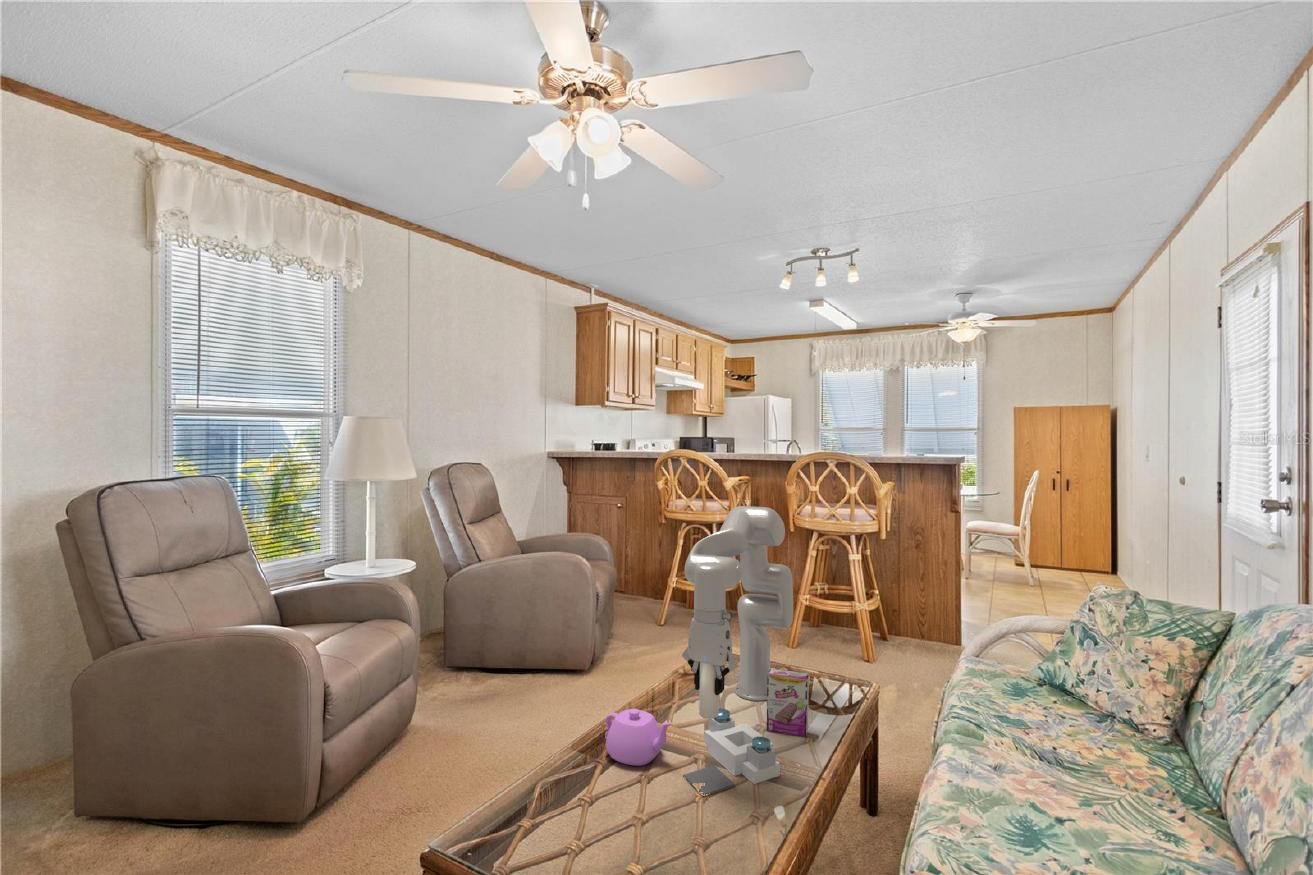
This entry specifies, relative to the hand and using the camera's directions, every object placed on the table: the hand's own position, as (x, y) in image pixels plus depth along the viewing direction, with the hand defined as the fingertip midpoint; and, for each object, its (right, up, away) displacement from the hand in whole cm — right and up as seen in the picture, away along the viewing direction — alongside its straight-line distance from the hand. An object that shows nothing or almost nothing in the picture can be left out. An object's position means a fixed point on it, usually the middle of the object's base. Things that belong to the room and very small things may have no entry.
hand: (709, 689), depth 146 cm
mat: (0, -22, +1) cm, 22 cm away
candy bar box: (+24, -22, +25) cm, 41 cm away
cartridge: (0, -6, 0) cm, 6 cm away
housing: (+9, -22, +11) cm, 26 cm away
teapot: (-17, -22, +12) cm, 31 cm away
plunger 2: (+13, -19, +4) cm, 23 cm away
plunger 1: (+5, -19, +19) cm, 27 cm away
